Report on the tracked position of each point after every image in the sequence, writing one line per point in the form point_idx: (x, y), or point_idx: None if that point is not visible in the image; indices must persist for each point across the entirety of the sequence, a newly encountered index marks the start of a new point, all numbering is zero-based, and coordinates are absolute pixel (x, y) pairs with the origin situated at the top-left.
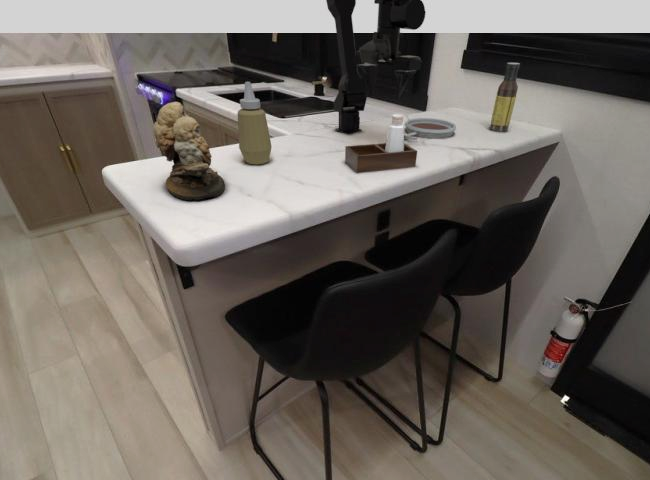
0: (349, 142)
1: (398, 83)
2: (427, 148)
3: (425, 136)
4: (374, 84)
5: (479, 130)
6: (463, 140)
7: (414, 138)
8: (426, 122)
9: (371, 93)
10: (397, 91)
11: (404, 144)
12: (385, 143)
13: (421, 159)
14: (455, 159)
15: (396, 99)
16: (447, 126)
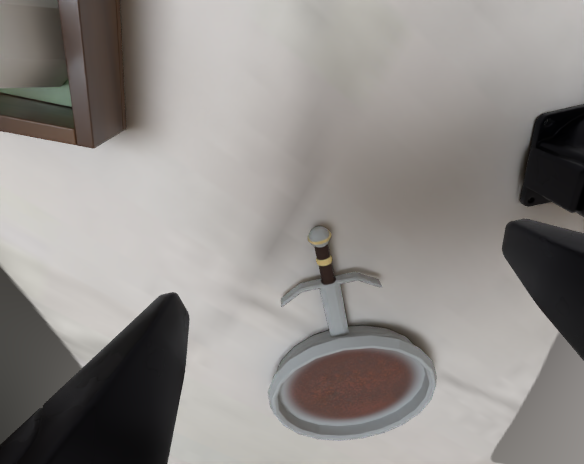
0: (444, 33)
1: (5, 458)
2: (198, 283)
3: (305, 342)
4: (576, 340)
5: (289, 456)
6: (231, 397)
7: (286, 297)
8: (401, 405)
9: (513, 240)
10: (96, 356)
11: (32, 125)
12: (68, 22)
13: (72, 188)
14: (52, 288)
15: (160, 300)
16: (332, 422)
